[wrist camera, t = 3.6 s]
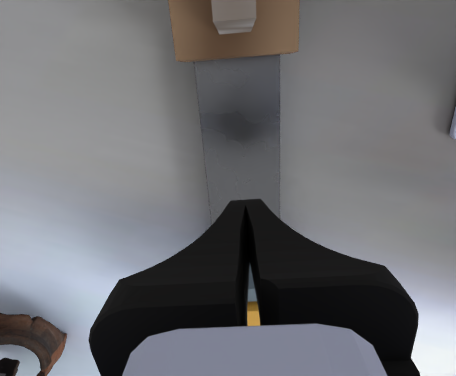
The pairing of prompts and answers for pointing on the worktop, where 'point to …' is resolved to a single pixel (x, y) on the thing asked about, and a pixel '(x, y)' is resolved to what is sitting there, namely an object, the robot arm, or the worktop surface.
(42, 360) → the pottery mug
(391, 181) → the worktop surface
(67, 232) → the worktop surface
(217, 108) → the rail
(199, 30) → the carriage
